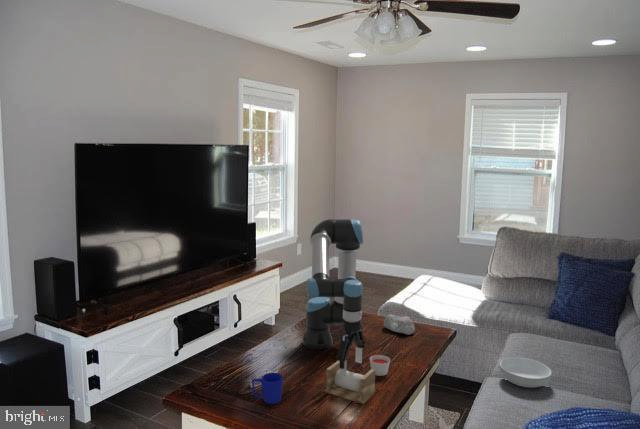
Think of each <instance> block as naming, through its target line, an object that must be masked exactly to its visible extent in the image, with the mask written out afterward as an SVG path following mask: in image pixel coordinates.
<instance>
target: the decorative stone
mask: <svg viewBox="0 0 640 429" xmlns="http://www.w3.org/2000/svg"><path fill="white" fill-rule="evenodd" d="M383 325H384V327H385V328H387V329H388V330H390V331H392V332H395V333H398V334H403V335H406V336H408V335H412V334H413V333H414V332H415V331H416V329H415V324H414V322H413V321H412V319H411V318H410V317H409V316H398V315H395V314H388V315H386V316H385V318H384V320H383Z"/></svg>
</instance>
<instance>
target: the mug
mask: <svg viewBox="0 0 640 429" xmlns="http://www.w3.org/2000/svg"><path fill="white" fill-rule="evenodd" d="M283 380H284V378H283V375H282V374H281V373H278V372H268V373H265V374H263V375H262V376H261V378H253V379H251V385H252V393H253V395H254V397H255V398H257V399H261V398H263V401H264V403H266V404H268V405H275V404H279V403H280V401H281V400H282V391H283ZM255 382H260V384H261V391H262V392H261V393H262V394H261V395H258V394H257V393H256V390H255Z"/></svg>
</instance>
